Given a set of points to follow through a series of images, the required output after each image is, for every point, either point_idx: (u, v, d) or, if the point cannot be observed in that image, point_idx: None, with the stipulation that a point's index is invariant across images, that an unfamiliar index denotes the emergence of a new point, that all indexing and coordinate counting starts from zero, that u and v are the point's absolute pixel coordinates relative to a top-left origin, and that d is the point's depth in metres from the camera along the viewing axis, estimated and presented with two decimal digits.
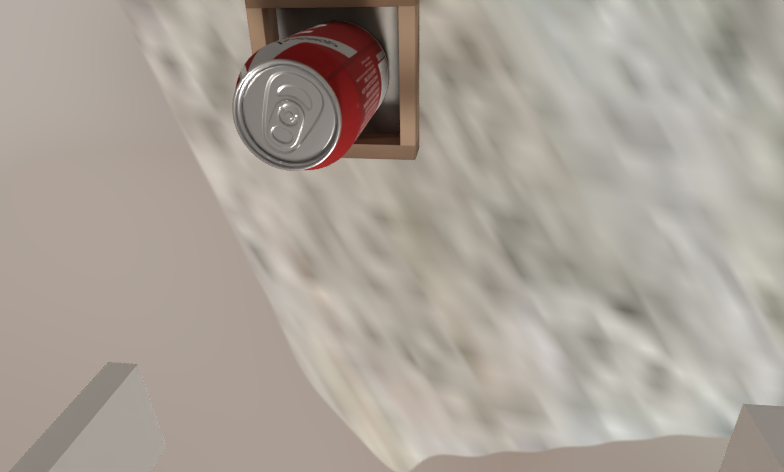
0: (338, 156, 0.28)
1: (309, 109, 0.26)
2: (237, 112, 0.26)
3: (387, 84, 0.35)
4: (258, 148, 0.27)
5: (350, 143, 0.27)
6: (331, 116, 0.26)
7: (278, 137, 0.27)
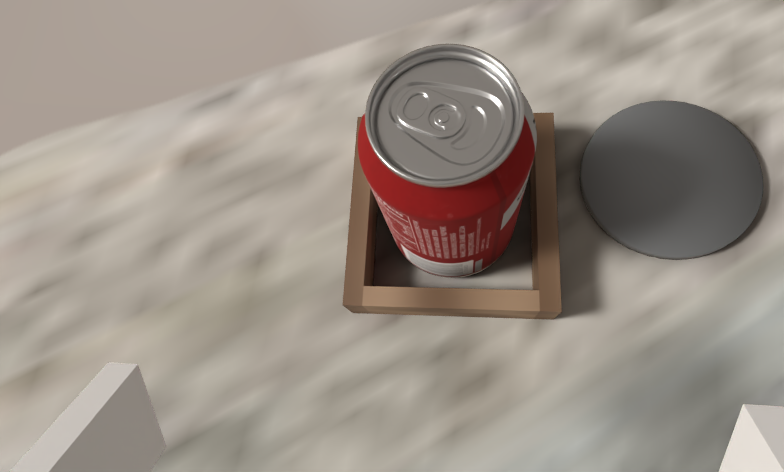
0: (377, 184, 0.19)
1: (451, 146, 0.18)
2: (450, 51, 0.19)
3: (440, 273, 0.27)
4: (397, 73, 0.19)
5: (396, 203, 0.19)
6: (443, 174, 0.18)
7: (411, 100, 0.19)
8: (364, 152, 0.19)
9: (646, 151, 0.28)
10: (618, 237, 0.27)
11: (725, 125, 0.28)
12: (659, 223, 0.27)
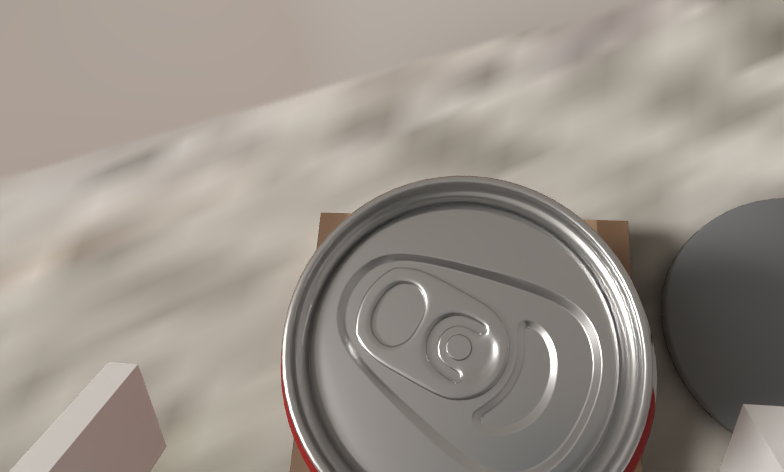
0: (313, 468, 0.09)
1: (476, 420, 0.08)
2: (475, 190, 0.09)
3: None
4: (361, 233, 0.09)
5: None
6: None
7: (389, 298, 0.09)
8: None
9: (769, 280, 0.18)
10: (729, 425, 0.17)
11: None
12: None
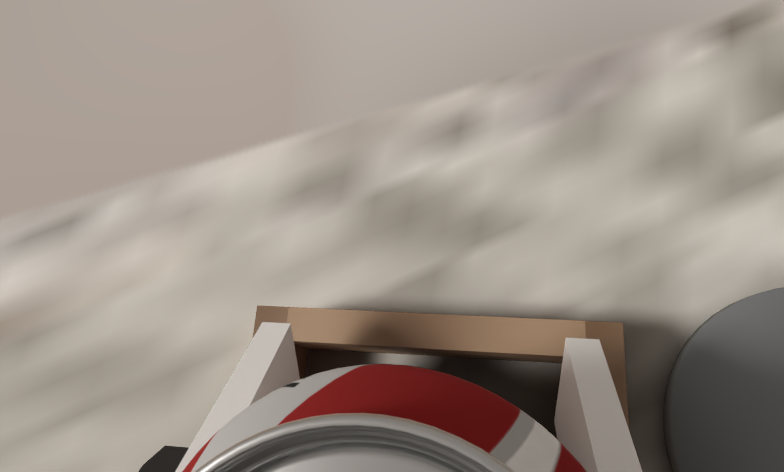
0: None
1: None
2: (387, 432, 0.06)
3: None
4: None
5: None
6: None
7: None
8: None
9: None
10: None
11: None
12: None
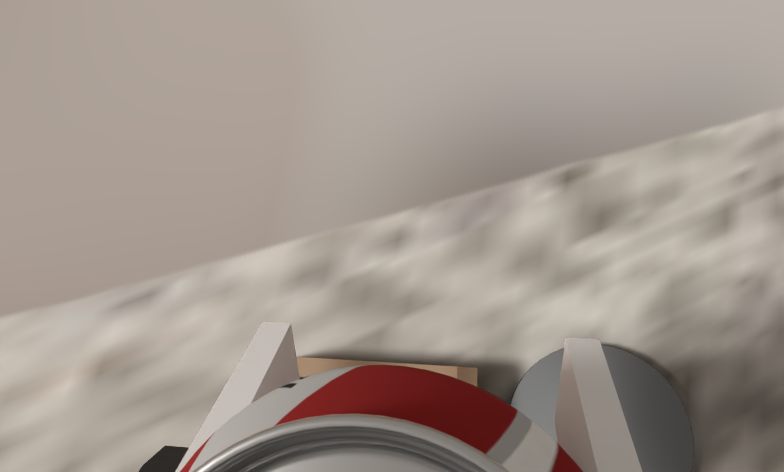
0: None
1: None
2: (384, 433, 0.06)
3: None
4: None
5: None
6: None
7: None
8: None
9: None
10: None
11: (658, 379, 0.27)
12: None
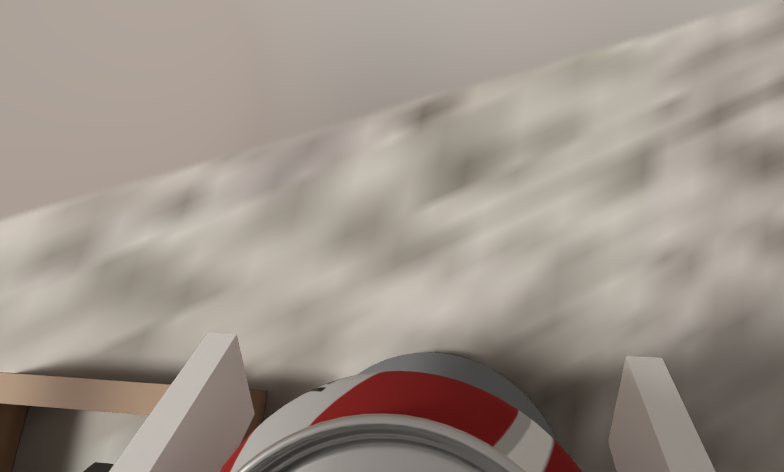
0: None
1: None
2: (407, 430, 0.07)
3: None
4: None
5: None
6: None
7: None
8: None
9: None
10: None
11: (525, 407, 0.18)
12: None
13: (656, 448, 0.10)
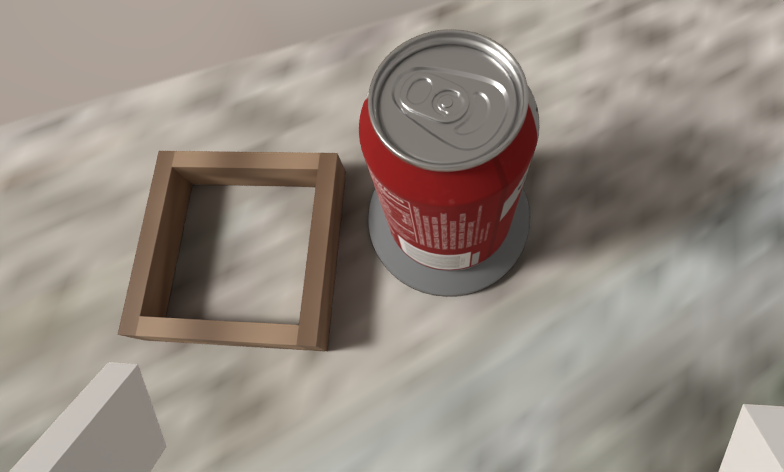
0: (378, 169, 0.19)
1: (454, 131, 0.18)
2: (454, 36, 0.19)
3: (436, 266, 0.27)
4: (401, 58, 0.19)
5: (397, 188, 0.19)
6: (445, 159, 0.18)
7: (414, 85, 0.19)
8: (366, 137, 0.19)
9: None
10: (393, 273, 0.29)
11: None
12: None
13: None
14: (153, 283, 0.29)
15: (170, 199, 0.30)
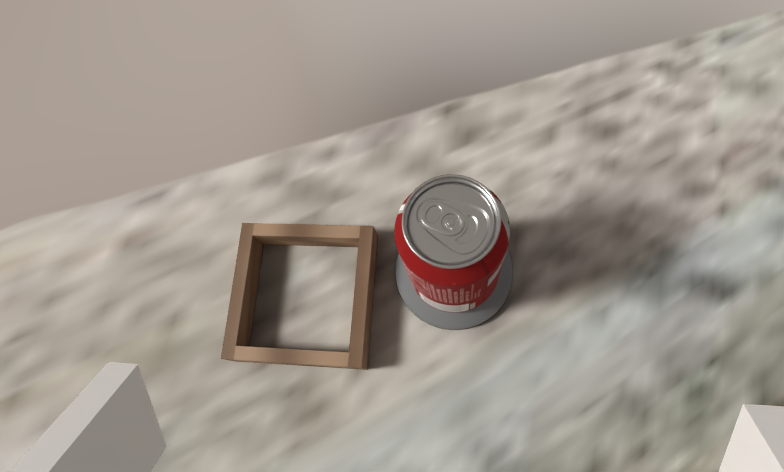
0: (408, 262, 0.30)
1: (455, 241, 0.29)
2: (455, 178, 0.30)
3: (445, 310, 0.38)
4: (422, 191, 0.30)
5: (420, 274, 0.30)
6: (450, 260, 0.29)
7: (430, 210, 0.30)
8: (399, 240, 0.30)
9: None
10: (414, 313, 0.40)
11: None
12: None
13: None
14: (242, 321, 0.40)
15: (251, 259, 0.41)
